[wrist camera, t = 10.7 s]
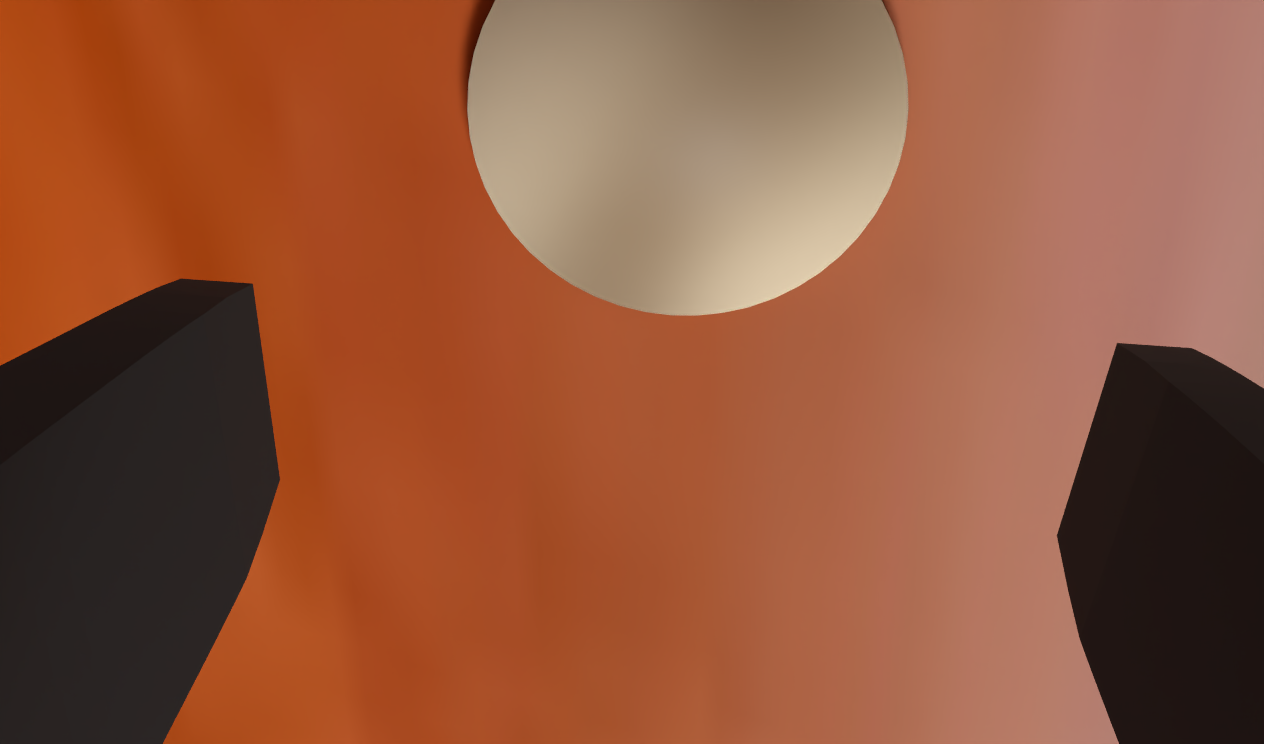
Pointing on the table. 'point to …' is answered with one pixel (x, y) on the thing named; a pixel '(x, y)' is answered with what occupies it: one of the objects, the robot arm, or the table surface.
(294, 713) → the table surface
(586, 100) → the coaster
